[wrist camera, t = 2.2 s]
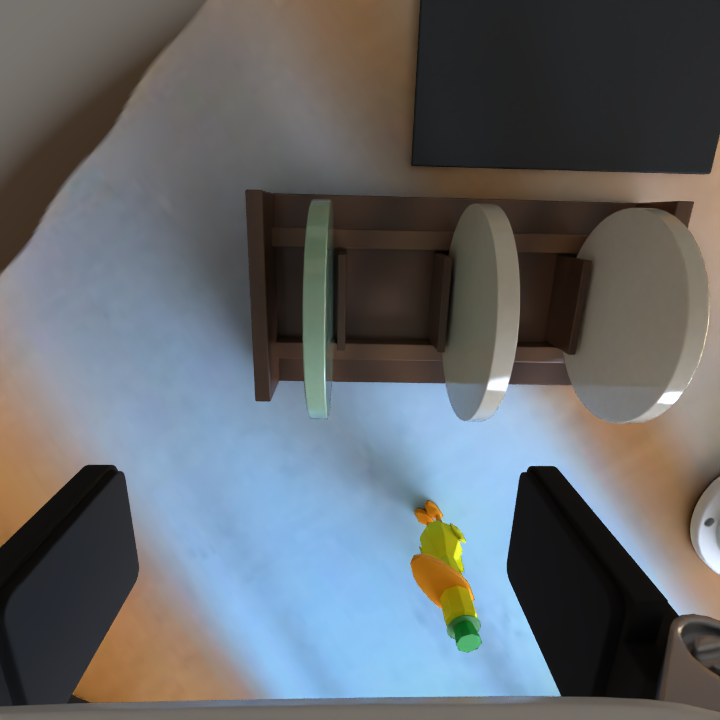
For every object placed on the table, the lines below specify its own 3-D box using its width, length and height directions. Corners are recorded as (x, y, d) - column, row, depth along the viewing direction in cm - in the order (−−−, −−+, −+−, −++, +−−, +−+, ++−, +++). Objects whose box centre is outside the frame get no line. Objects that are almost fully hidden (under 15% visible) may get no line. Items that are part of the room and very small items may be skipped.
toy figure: (385, 498, 38) (400, 620, 27) (417, 473, 37) (447, 586, 26) (437, 546, 40) (472, 680, 28) (469, 522, 39) (518, 650, 27)
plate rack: (640, 203, 31) (694, 201, 26) (605, 380, 35) (646, 407, 30) (262, 193, 31) (244, 189, 26) (268, 375, 34) (255, 401, 30)
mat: (774, -126, 26) (784, -134, 25) (704, 174, 31) (710, 173, 30) (427, -142, 25) (429, -151, 25) (411, 165, 30) (412, 164, 30)
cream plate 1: (465, 206, 30) (536, 199, 18) (449, 378, 33) (501, 463, 22) (449, 205, 30) (511, 199, 18) (436, 378, 33) (480, 462, 22)
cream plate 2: (592, 209, 30) (742, 205, 18) (563, 380, 34) (674, 464, 22) (577, 209, 30) (718, 204, 18) (550, 380, 34) (653, 464, 22)
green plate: (335, 202, 29) (325, 194, 18) (333, 376, 33) (325, 460, 22) (319, 202, 29) (300, 193, 18) (320, 376, 33) (304, 460, 22)
